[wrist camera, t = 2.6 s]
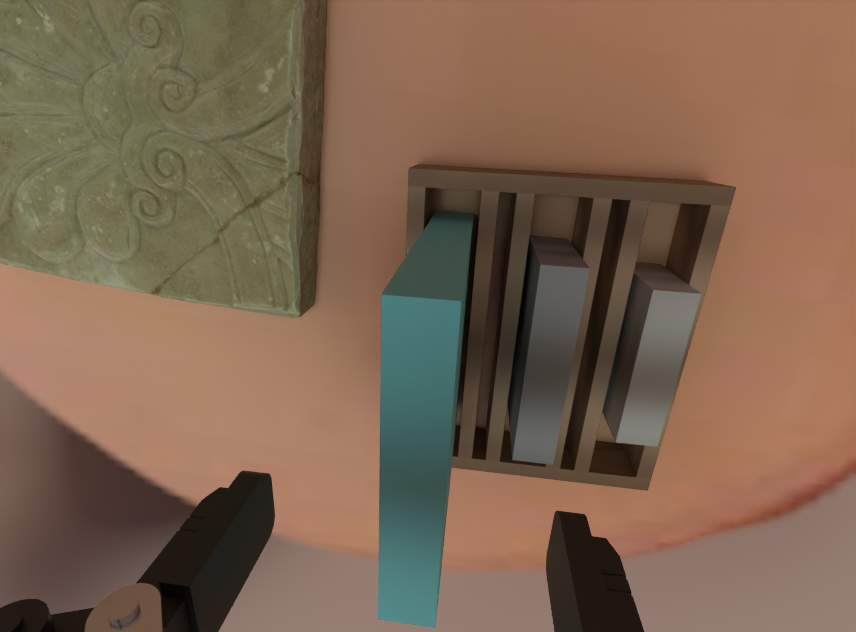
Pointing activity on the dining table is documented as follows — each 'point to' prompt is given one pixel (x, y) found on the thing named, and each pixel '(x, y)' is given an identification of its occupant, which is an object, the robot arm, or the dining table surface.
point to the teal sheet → (420, 414)
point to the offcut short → (649, 354)
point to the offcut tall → (545, 346)
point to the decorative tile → (165, 146)
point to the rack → (602, 310)
